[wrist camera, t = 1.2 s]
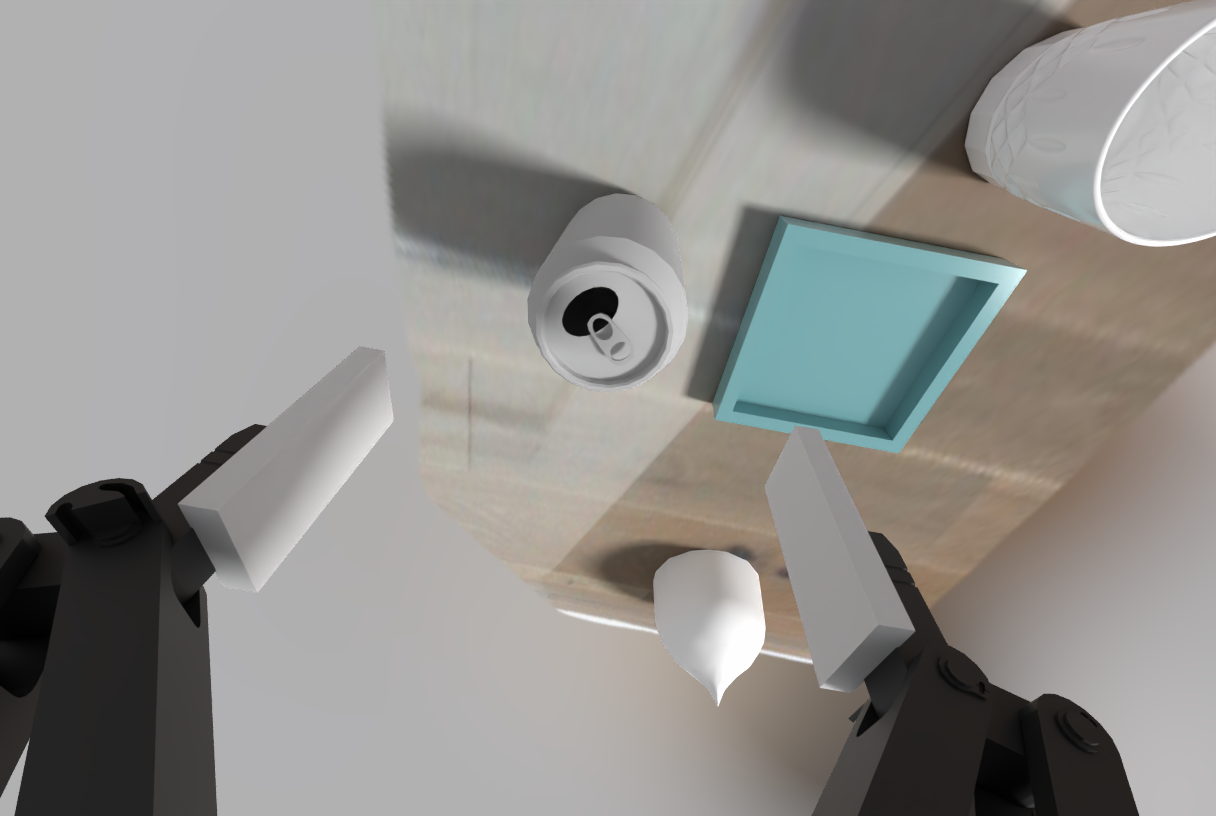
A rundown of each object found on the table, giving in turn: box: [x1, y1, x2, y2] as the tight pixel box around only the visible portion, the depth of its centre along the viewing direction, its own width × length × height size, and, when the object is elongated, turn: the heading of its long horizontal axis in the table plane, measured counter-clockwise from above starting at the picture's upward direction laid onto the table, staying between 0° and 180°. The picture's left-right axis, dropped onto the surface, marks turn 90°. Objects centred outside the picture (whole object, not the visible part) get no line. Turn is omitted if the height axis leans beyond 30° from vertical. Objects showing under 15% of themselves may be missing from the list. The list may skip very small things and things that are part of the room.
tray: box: [712, 216, 1027, 453], centre depth 31 cm, size 14×14×2 cm
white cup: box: [965, 0, 1216, 246], centre depth 20 cm, size 8×8×10 cm
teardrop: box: [653, 550, 766, 706], centre depth 44 cm, size 11×11×12 cm
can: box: [528, 193, 689, 392], centre depth 25 cm, size 8×8×12 cm
